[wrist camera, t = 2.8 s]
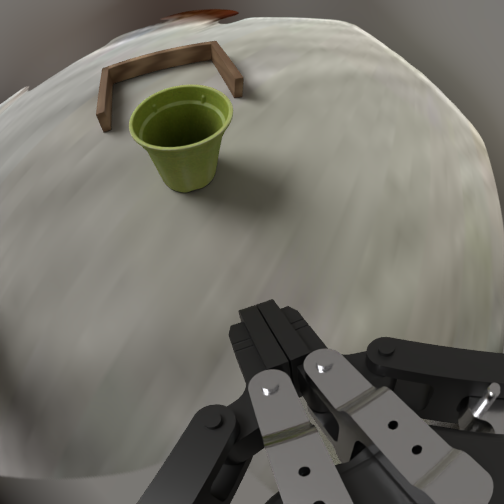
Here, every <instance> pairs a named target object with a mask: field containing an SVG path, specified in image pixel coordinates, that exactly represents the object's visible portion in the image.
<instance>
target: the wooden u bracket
mask: <svg viewBox="0 0 504 504" xmlns="http://www.w3.org/2000/svg"><path fill="white" fill-rule="evenodd" d="M206 60H212V62H213V63H214V65H215V66H216V68H217V70H218V71H219V73H220V75H221V76H222V78H223V80H224V81H225V83H226V85H227V86H228V88H229V90H230V91H231V93H232V95H233V97H234V98H237V97H242V92H243V76H242V75H241V74H240V72H239V71H238V69H237V68H236V67H235V65H234V64H233V62H232V61H231V60H230V58H229V57H228V56H227V54H226V53H225V52H224V50H223V49H222V48H221V47H220V45H219V44H218V43H217V41H211V42H204V43H198V44H192V45H186V46H181V47H176V48H171V49H167V50H162V51H158V52H154V53H150V54H146V55H143V56H139V57H136V58H132V59H129V60H126V61H123V62H119V63H116V64H113V65H111V66H108V67H105V68H102V74H101V80H100V87H99V94H98V102H97V111H96V116H97V118H98V120H99V123H100V125H101V128H102V130H103V132H106V131H109V130H111V116H112V91H113V84H114V83H117V82H120V81H123V80H126V79H130V78H133V77H136V76H140V75H143V74H147V73H150V72H154V71H158V70H162V69H166V68H170V67H175V66H179V65H184V64H189V63H194V62H200V61H206Z"/></svg>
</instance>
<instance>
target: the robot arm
mask: <svg viewBox="0 0 504 504" xmlns="http://www.w3.org/2000/svg"><path fill="white" fill-rule="evenodd" d="M239 315H240V319H241V323H238V324H235V325H232V326H231V327H230V331H229V338H230V341H231V344H232V347H233V350H234V353H235V356H236V359H237V361H238V364H239V367H240V369H241V372H242V374H243V377H244V379H245V382H246V388H245V391H244V393H243V394H242V396H241V397H240V398H239V399H238V400H236V401H235V402H233V403H232V404H230V405H229V406H227V407H226V406H223V405H209V406H206V407H204V408H202V409H200V410H199V411H198V412H197V413H196V414H195V415H194V417H193V419H192V420H191V422H190V423H189V425H188V427H187V428H186V430H185V431H184V433H183V434H182V436H181V438H180V439H179V441H178V442H177V444H176V445H175V447H174V449H173V450H172V452H171V453H170V455H169V456H168V458H167V459H166V461H165V462H164V464H163V466H162V467H161V469H160V470H159V472H158V473H157V475H156V476H155V478H154V479H153V481H152V482H151V484H150V485H149V486H148V488H147V489H146V491H145V492H144V494H143V495H142V497H141V498H140V500H139V501H138V502H137V504H230V503H231V501H232V499H233V496H234V495H235V493H236V491H237V489H238V487H239V485H240V483H241V481H242V479H243V477H244V475H245V473H246V471H247V468H248V466H249V464H250V462H251V460H252V457H253V455H255V454H256V453H258V452H259V451H260V450H262V449H263V448H265V450H266V453H267V456H268V459H269V462H270V465H271V468H272V472H273V475H274V478H275V481H276V483H277V486H278V489H279V492H277V493H276V494H275V495H273V496H272V497H271V498H270V499H269V500H268V501H267V502H266V503H265V504H504V354H503V353H493V352H483V351H475V350H467V349H459V348H452V347H445V346H438V345H432V344H425V343H419V342H413V341H407V340H401V339H396V338H390V337H381V338H378V339H375V340H374V341H372V342H371V343H370V344H369V345H368V347H367V351H365V352H360V353H355V354H349V355H342V354H340V353H339V352H338V351H336V350H333V349H328V348H327V347H326V346H325V344H324V343H323V342H322V341H321V339H320V338H319V337H318V336H317V334H316V333H315V332H314V331H313V329H312V328H311V327H310V326H309V325H308V323H307V322H306V321H305V320H304V318H303V317H302V316H301V314H300V313H299V312H298V311H297V310H295V309H293V308H291V307H289V306H287V307H284V308H281V309H280V308H279V307H278V305H277V304H276V303H275V301H274V300H273V299H271V300H269V301H266V302H263V303H260V304H257V305H256V306H255V305H254V306H251V307H248V308H245V309H242V310H239ZM302 396H303V397H304V399H305V400H306V402H307V409H308V411H309V413H310V415H311V416H312V417H313V419H314V420H315V421H316V423H317V424H318V426H319V427H320V428H321V430H322V431H323V432H324V434H325V435H326V436H327V438H328V439H329V441H330V442H331V443H332V445H333V446H334V448H335V451H336V454H337V456H338V458H339V460H340V461H341V463H342V464H338V465H334V463H333V461H332V459H331V457H330V455H329V453H328V451H327V448H326V446H325V444H324V442H323V440H322V438H321V436H320V434H319V432H318V430H317V428H316V427H315V426H314V425H312V424H311V423H310V421H309V419H308V416H307V414H306V412H305V410H304V408H303V406H302V403H301V401H300V399H299V397H302ZM421 418H422V419H428V420H435V421H442V422H449V423H458V424H459V426H460V427H459V430H458V429H451V428H445V427H439V426H433V425H427V424H426V423H425V422H424V421H423V420H422V419H421Z"/></svg>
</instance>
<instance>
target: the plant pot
mask: <svg viewBox="0 0 504 504" xmlns="http://www.w3.org/2000/svg"><path fill="white" fill-rule="evenodd" d="M232 116H233V107H232V104H231V102H230V100H229V99H228V97H227V96H226V95H225V94H223V93H222V92H220V91H218V90H216V89H214V88H211V87H207V86H203V85H181V86H175V87H170V88H167V89H164V90H161V91H159V92H157V93H155V94H153V95H151V96H149V97H148V98H147V99H145V100H144V101H142V102H141V103H140V104H139V105H138V107H137V108H136V109H135V110H134V112H133V113H132V116H131V118H130V121H129V130H130V133H131V135H132V137H133V139H134V140H135V141H136V142H137V143H138V144H139V145H141V146H142V147H143V148H144V149H145V150H146V151H147V152H148V153H149V155H150V157H151V159H152V161H153V163H154V164H155V166H156V168H157V170H158V172H159V174H160V176H161V177H162V179H163V181H164V182H165V184H166V185H167V186H168V187H169V188H171V189H173V190H175V191H179V192H189V191H192V190H196V189H200V188H203V187H205V186H206V185H207V184H209V183H210V182H211V180H212V179H213V177H214V175H215V172H216V167H217V161H218V155H219V150H220V145H221V140H222V136H223V134H224V132H225V130H226V129H227V128H228V126H229V124H230V122H231V120H232Z"/></svg>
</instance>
